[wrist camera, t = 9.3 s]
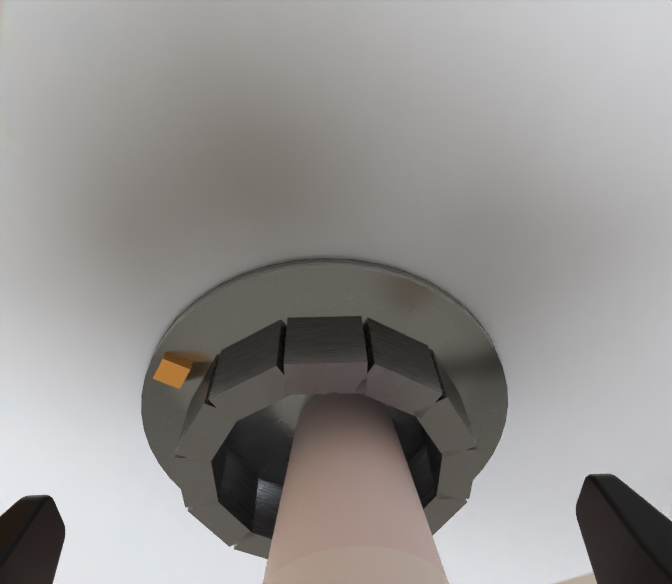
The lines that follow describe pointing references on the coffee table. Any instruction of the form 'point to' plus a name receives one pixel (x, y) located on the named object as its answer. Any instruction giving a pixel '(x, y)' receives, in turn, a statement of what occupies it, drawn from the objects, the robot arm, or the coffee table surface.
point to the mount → (318, 386)
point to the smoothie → (350, 502)
